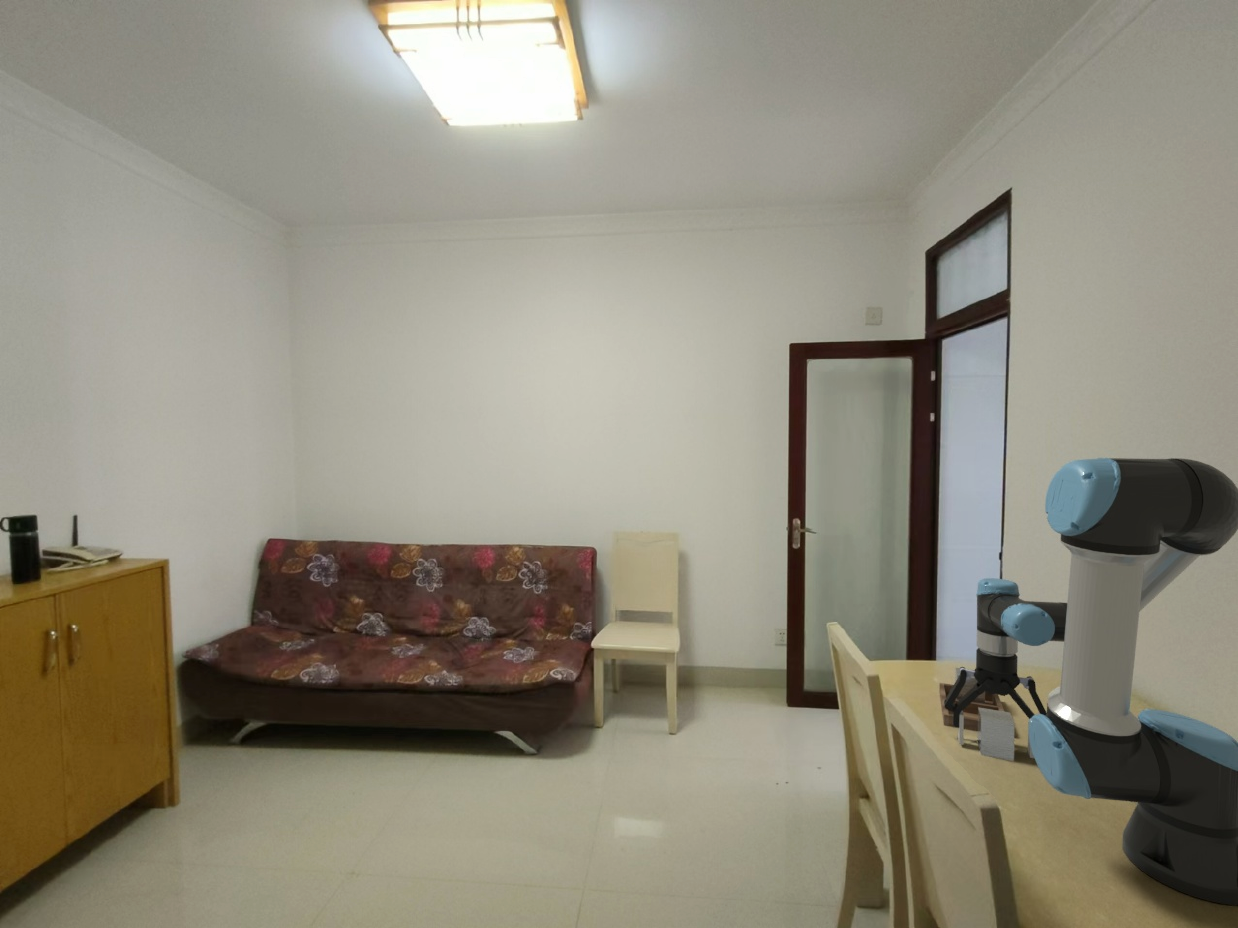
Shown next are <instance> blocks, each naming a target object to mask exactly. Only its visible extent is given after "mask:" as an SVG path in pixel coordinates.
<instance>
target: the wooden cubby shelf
mask: <svg viewBox="0 0 1238 928" xmlns="http://www.w3.org/2000/svg"><path fill="white" fill-rule="evenodd" d="M953 685H954V684H950V683H944V682H939V687H938V688H939V689H938V690H939V698H940V699H939V701H940V705H941V707H940V708H941V712H942V713H941V715H942V723H943V726H946V727H951V728H957V729H959V728H958V727H954V725H953V712H952V711H951V710H947V709H946V708H945V706H944V701H945V699H946V697H947V696H948V694H949V692H950V690H951V689H952V687H953ZM957 701H959V700H957V699H956V700H955V702H954V703H953V704H955V703H956V702H957ZM978 707H979V708H985V709H991V710H997V711H1003V712H1005V709H1004V707H1003V704H1002V702H1001V699H1000V695H998V694H988V692H986V691H985V704H982V703H976V702H971V703H970V704H969V705H968V706H967V707H966V708H965V709H964V710H962V711H963V715H964V728H963V730H968V731H973V732H978Z"/></svg>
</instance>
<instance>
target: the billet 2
mask: <svg viewBox="0 0 1238 928" xmlns="http://www.w3.org/2000/svg"><path fill="white" fill-rule="evenodd" d="M977 744H978V746H977V747H978V750H979V754H980V756H985V757H991V758H996V759H1000V760H1005V761H1009V762H1015V722H1014V720H1013V716H1012V714H1011V712H1008V711H1004V712H1003V711H997V710H991V709H985V708H979V707H978V731H977Z"/></svg>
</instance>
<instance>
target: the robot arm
mask: <svg viewBox="0 0 1238 928" xmlns="http://www.w3.org/2000/svg"><path fill="white" fill-rule="evenodd" d="M1044 507H1045V510H1044V511H1045V514H1047V516H1046V519H1047V522H1048V524H1049V526H1050V528H1051V529H1052V531H1054V532H1056V533H1057V534H1060V543H1061V544H1062V545H1063V546H1065V548H1066V549H1067V550H1068V551H1069V552H1070V554H1071V555H1070V556H1071V557H1070V564H1069V565H1070V567H1069V579H1068V590H1067V591H1068V593H1067V601H1066V602H1058V601H1057V602H1056V601H1055V602H1053V601H1033V600H1032V601H1030V600H1023V599H1022V598H1019V597H1020V591H1019V585H1018V584H1017V583H1016V582H1015V581H1013V580H1009V579H1003V578H991V577H988V578H982V579H980V580H979V581H978V583H977V589H976V590H977V592H976V595H975V596H976V647H977V649H976V653H975V654H976V655H975V656H976V657H975V658H976V660H975V661H976V662H975V663H976V664H975V668H974V669H969V670H967V669H968V668H966V667H964V666H960V667H959V668H960V670H959V677H958V678H957V680H956V682H954V684H952V685H953V687H952V689H951V690H950V692H949V694H948V696H947V697H946V699H945V701H944V706H945V708H946V709H947V710H951V711H952V712H953V725H954V727H953V728H956V727H958V728H957V729H958V735H957V736H958V743H959V744H958V745H964V729H963V728H964V715H963V711H962V710H964V709H965V708H966V707H967V706H968V705H969V704H970V703H971V702H972V701H973V700H975V699H976V698H977V697H978V696H979V695H981V694H982V693H984V692H985V691H986V692H988V694H998V696H1003V697H1006V696H1007V695H1009V696H1010V698H1011V699H1012V700H1013V701H1014V703H1016V705H1017V706H1018V707H1019V708H1020V709H1021V711H1022V712H1023V713H1024V714H1025V715H1026V717H1027V718H1028V719H1029V720H1028V722H1027V728H1028V729H1027V753H1028V756H1029V758H1030V759H1035V762H1036V765H1037V768H1038V769H1039V771H1040V773H1041V774H1042V776H1043V778H1044V779H1045V780H1046V782H1047V783H1048V784H1049V785H1050V786H1051V788H1052V789H1054V790H1056V791H1057V792H1059V793H1061V794H1063V795H1067V796H1073V797H1074V796H1075V797H1082V798H1084V799H1085V800H1090V799H1099V800H1101V799H1102V800H1111V801H1112V800H1113V801H1121V802H1122V801H1123V802H1133V803H1137V804H1136V806H1135V808H1134V810H1133V812H1132V814H1131V815H1130V817H1129V820H1128V821H1127V823H1126V825H1125V827H1124V829H1123V832H1122V851H1123V853H1124V854H1125V856H1126V857H1127V859H1128V860H1129V861H1130V862H1131V863H1132V864H1133V865H1134V866H1136V867H1137V868H1138V869H1139V870H1141V871H1142V872H1143V873H1145V874H1146V875H1148V876H1150V877H1151V878H1152V879H1154V880H1156V881H1157V882H1160V883H1161V884H1163V885H1166V886H1167V887H1169V888H1172V889H1174V890H1176V891H1179V892H1180V893H1183V894H1186V895H1189V896H1192V897H1194V898H1197V899H1201V900H1204V901H1206V902H1207V901H1208V902H1212V903H1217V904H1223V905H1232V906H1238V741H1237V740H1236V739H1235V738H1234V737H1233V736H1231V735H1230V734H1229V733H1227V732H1225V731H1223V730H1221V729H1219V728H1217V727H1216V726H1213V725H1211V724H1208V723H1206V722H1203V721H1201V720H1198V719H1195V718H1194V717H1193V718H1192V717H1189V716H1186V715H1182V714H1180V713H1175V712H1171V711H1166V710H1161V709H1156V708H1145V709H1143V710H1141V711H1139V713H1138V715H1137V716H1136V715H1135V714H1134V713H1132V711H1131V699H1132V698H1131V697H1132V689H1133V678H1134V668H1135V659H1136V650H1137V649H1136V647H1137V640H1138V639H1137V638H1138V628H1139V617H1140V612H1141V611H1142V610H1143V609H1144V608H1145V607H1146V606H1147V605H1149V604H1150V603H1151V602H1152V601H1153V600H1154V599H1155V598H1156V597H1157V596H1158V595H1159V594H1160V593H1162V592H1163V591H1164V590H1165V589H1166V588H1167V587H1168V586H1169V585H1170V584H1171V583H1172V582H1174V580H1176V579H1177V578H1178V577H1179V576H1180V575H1181V574H1182V573H1183V572H1185V570H1186V569H1188V568H1189V566H1191V564H1193V563H1194V562H1195V561H1196V560H1197V559H1198V558H1199V557H1200V556H1208V555H1212V554H1214V553H1216V552H1218V551H1219V550H1220V549H1222V548H1223V547H1224V546H1225V545H1227V543H1228V542H1229V541H1230V540H1231V539H1232V538H1233V537H1234V536H1235V535H1236V533H1237V531H1238V487H1237V485H1236V483H1234V481H1233V480H1232V479H1231V477H1228V476H1227V474H1225V473H1224V472H1223V471H1221V470H1220V469H1218V468H1216V467H1214V466H1212V465H1210V464H1207V463H1205V462H1202V461H1198V460H1195V459H1194V460H1193V459H1190V458H1189V459H1187V458H1176V457H1175V458H1173V457H1171V458H1126V457H1125V458H1121V457H1119V458H1117V457H1116V458H1113V457H1112V458H1111V457H1109V458H1108V457H1097V458H1085V459H1075V460H1072V461H1069V462H1067V463H1065V464H1064V465H1063V466H1061V467H1060V469H1059V470H1058V471H1057V472H1055V474H1054V475H1053V477H1052V479H1051V481H1050V483H1049V485H1048V488H1047V491H1046V496H1045V504H1044ZM1048 642H1061V643H1062V642H1063V652H1062V662H1061V663H1062V664H1061V677H1060V685H1059V686H1060V693H1058V694H1055V695H1053V696H1051V697H1050V698H1049V699H1048V698H1047V702H1046V706H1047V707H1046V708H1045V706H1044V705H1043V703H1042V701H1041V699H1040V697H1039V694H1038V693H1037V688H1036V682H1035V680H1034V678H1033V676H1030V675H1029V676H1027V677H1019V675H1018V655H1017V653H1018V651H1019V650H1018V649H1019V648H1018V647H1019V646H1018V645H1019V644H1018V643H1021V644H1023V645H1026V646H1029V647H1039V646H1041V645H1045V644H1046V643H1048ZM972 670H974V671H972ZM972 676H973V677H975V679H976V680H977V681H978V682H977V683H976V684H975V685H974V687H973V688H972V689H971V690H969V691H968V692H967V693H966V694H965V695H964V696H963V697H962V698H961V699H960V700H959V701H957V702H956V703H955V704H953V703H954V702H955V700H956V698H957V696H958V695H959V693H960V691H961V690H962V688H963V686H964V685H965V682H966V680H969V679H970V678H971V677H972ZM1019 685H1022V686H1023V688H1024V689H1027V690H1028V692H1029V694H1030V697H1031V699H1032V701H1033V702H1034V705H1035V706H1036V708H1037V711H1038V713H1037V714H1035V713H1034V712H1033V710H1032V709H1031V708H1030V707H1029V706H1028V704H1027V703H1026V702H1025V700H1024V699H1023V698H1022V697H1021V696H1020V695H1019V693H1018V692H1017V690H1016V688H1017V687H1018V686H1019Z"/></svg>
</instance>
